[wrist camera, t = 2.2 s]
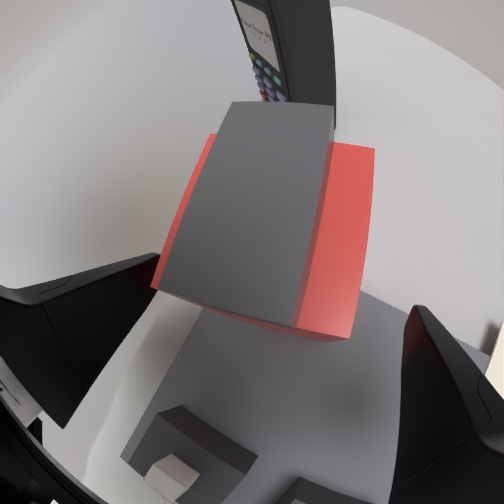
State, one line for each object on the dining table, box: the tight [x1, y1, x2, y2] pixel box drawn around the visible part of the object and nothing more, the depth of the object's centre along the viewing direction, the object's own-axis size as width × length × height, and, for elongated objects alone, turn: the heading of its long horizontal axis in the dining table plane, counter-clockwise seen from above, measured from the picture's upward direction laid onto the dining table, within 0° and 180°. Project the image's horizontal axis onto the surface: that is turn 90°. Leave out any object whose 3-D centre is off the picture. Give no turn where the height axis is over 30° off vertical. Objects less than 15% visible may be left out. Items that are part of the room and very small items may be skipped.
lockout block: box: [150, 102, 375, 342], centre depth 11 cm, size 5×4×12 cm
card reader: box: [231, 0, 336, 130], centre depth 16 cm, size 9×4×15 cm, turn 23°
